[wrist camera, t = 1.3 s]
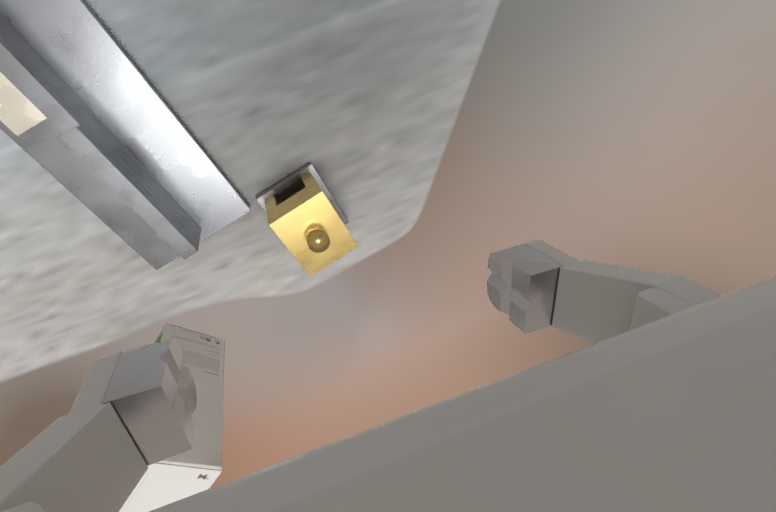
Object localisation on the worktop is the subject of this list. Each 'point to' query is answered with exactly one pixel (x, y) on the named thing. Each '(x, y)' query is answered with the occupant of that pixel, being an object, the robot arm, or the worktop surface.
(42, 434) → the robot arm
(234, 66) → the worktop surface
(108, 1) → the worktop surface
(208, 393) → the skincare box
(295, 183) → the thin grey square plate
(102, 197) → the rail
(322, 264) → the gold knobbed block
